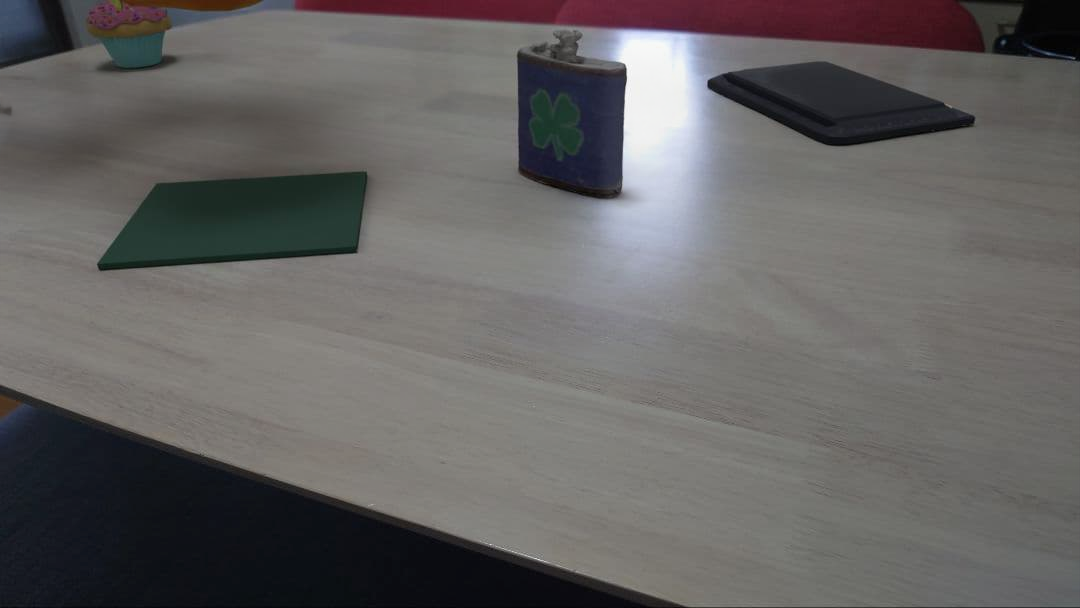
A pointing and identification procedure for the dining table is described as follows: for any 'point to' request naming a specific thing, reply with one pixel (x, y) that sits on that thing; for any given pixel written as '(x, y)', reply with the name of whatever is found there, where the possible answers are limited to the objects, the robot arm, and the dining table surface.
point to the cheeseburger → (189, 4)
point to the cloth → (242, 220)
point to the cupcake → (130, 32)
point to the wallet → (836, 102)
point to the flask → (571, 117)
